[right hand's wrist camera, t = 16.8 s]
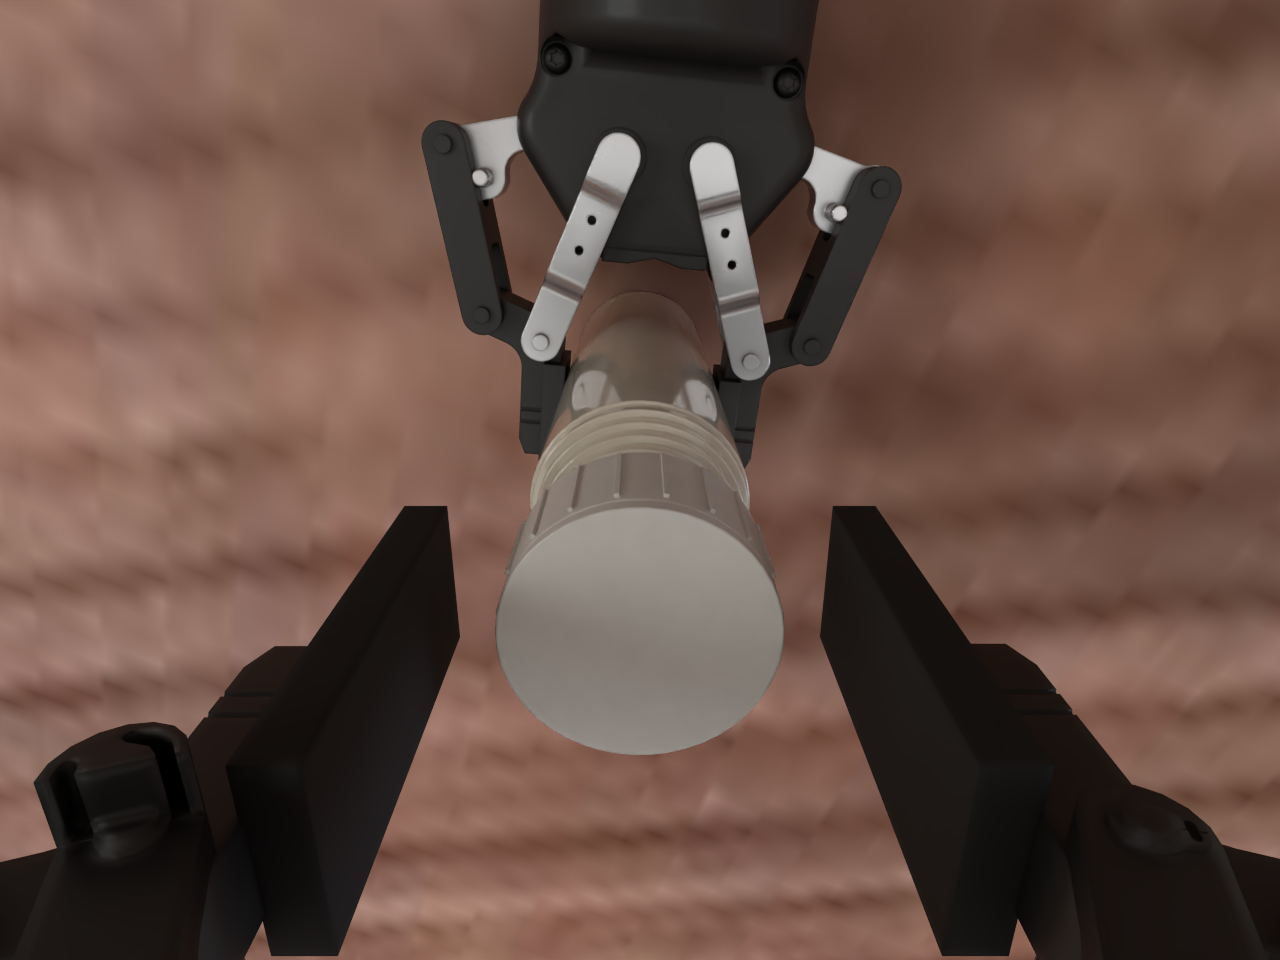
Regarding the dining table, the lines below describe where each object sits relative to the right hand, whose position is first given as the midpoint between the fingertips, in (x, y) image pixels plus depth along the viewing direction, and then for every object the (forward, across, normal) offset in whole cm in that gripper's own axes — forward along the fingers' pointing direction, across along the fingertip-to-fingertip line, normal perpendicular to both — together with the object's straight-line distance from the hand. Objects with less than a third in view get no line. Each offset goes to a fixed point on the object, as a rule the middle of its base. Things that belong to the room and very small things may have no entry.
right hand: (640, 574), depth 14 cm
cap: (-2, 0, 0) cm, 2 cm away
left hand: (+12, 0, -3) cm, 12 cm away
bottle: (+18, 0, 0) cm, 18 cm away
